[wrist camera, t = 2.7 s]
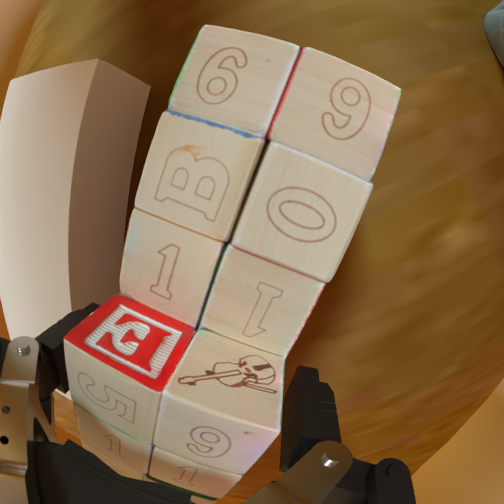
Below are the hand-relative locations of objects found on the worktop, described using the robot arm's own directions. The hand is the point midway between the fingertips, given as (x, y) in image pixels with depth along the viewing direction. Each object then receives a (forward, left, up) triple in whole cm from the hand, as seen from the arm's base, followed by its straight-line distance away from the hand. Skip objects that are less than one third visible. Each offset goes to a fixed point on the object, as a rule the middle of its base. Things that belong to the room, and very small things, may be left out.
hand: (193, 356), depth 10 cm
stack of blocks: (-1, 0, -8) cm, 8 cm away
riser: (0, -13, -8) cm, 15 cm away
